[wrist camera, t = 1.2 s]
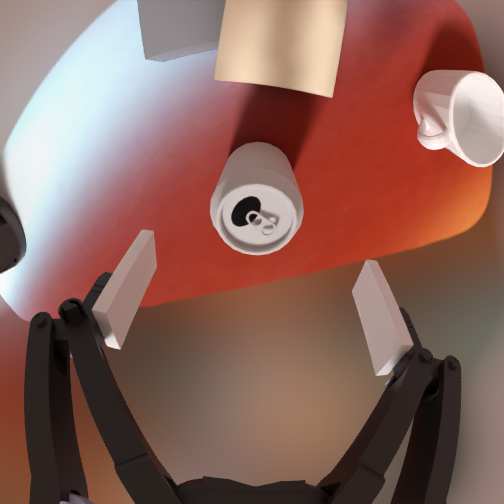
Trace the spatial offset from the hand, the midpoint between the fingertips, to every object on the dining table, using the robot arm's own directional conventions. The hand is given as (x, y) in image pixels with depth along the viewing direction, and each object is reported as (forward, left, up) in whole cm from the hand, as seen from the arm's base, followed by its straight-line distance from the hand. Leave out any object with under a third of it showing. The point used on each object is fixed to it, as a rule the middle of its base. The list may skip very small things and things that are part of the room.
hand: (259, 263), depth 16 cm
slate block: (-9, +17, -17) cm, 26 cm away
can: (0, 0, -17) cm, 17 cm away
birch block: (0, +15, -17) cm, 23 cm away
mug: (+20, +13, -17) cm, 29 cm away
